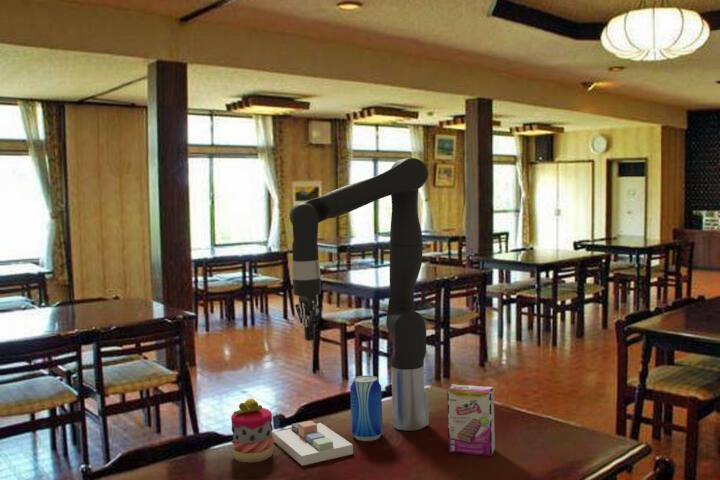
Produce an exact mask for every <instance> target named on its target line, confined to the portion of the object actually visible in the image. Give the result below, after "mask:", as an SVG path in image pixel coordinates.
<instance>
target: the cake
mask: <svg viewBox="0 0 720 480" xmlns="http://www.w3.org/2000/svg"><path fill="white" fill-rule="evenodd" d="M238 408H239V410H235V411H233V413H232V414H231V416H230V417H231V419H230V420H231V421H230V422H231V432H232V437H233V439H232V440H231V444H233V445H234V446H233V459H234V460H236V461H237V462H240V463H246V462H248V463H258V462H263V461H265V460H268V459H269V457H270V458H271V457H272V456H273V454H274V453H273V444H274V443H275V442H274V436H273V432H274V431H273V430H274V427H273V424H272V422H273V415H272V411H271V410H270V409H269V408H264V407H263V406H262V405H261V404H259V403H258V401H256V400H255V399H253V398H248V399H246V400H245V402H240V403H239V405H238Z"/></svg>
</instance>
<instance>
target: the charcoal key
mask: <svg viewBox="0 0 720 480" xmlns="http://www.w3.org/2000/svg"><path fill="white" fill-rule="evenodd" d="M298 423H301V421H300V422H296V423H292V424H291V429H292V431H293V432H294V433H296V434H299V431H298Z"/></svg>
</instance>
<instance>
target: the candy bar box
mask: <svg viewBox="0 0 720 480" xmlns="http://www.w3.org/2000/svg"><path fill="white" fill-rule="evenodd" d="M446 392H447V393H446V394H447V395H446V396H447V397H446V398H447V438H448V439H447V440H448V445H447V446H448V448H447V449H448V452H449V453H455V454H465V455H466V454H467V455H477V456H487V457H493V454H494V452H495V450H496V449H495V448H496V440H495V438H496V437H495V388H494V386H493V387H492V386H483V385H482V386H480V385H465V384H450V386H449V387H447V391H446Z"/></svg>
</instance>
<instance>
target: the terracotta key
mask: <svg viewBox="0 0 720 480" xmlns="http://www.w3.org/2000/svg"><path fill="white" fill-rule="evenodd" d="M300 422H301V421H300ZM300 422H297V423H298V431H299V437H301V438H302V439H303V440H305V439H306V435H305V434H310V433H315V432H317V423H315V422H314V421H313V420H307V421H306V420H305V421H302V422H301V423H300Z"/></svg>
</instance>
